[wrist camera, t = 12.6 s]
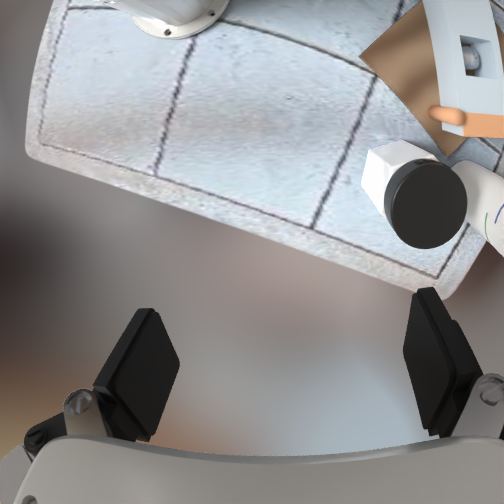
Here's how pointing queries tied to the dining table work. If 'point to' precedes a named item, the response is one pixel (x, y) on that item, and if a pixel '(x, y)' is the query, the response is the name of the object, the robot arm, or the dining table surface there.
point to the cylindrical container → (484, 201)
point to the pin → (446, 115)
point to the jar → (415, 193)
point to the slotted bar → (453, 70)
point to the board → (415, 71)
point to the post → (470, 58)
